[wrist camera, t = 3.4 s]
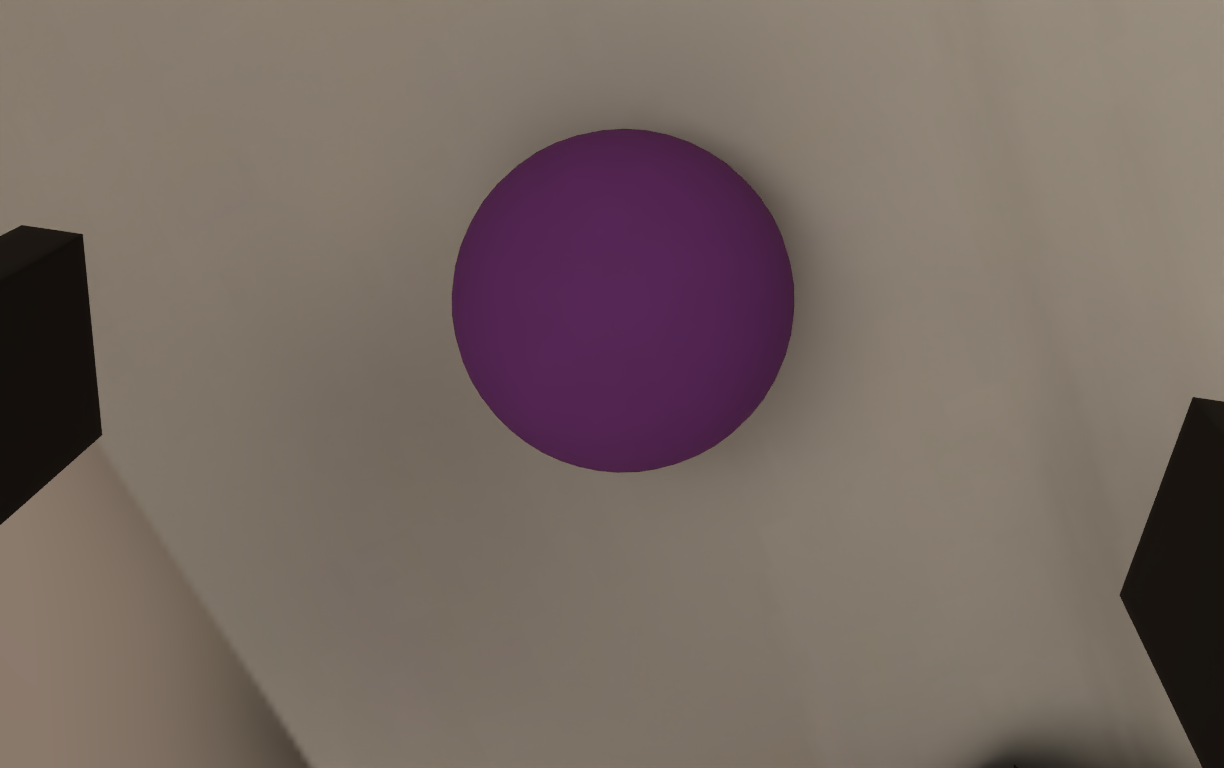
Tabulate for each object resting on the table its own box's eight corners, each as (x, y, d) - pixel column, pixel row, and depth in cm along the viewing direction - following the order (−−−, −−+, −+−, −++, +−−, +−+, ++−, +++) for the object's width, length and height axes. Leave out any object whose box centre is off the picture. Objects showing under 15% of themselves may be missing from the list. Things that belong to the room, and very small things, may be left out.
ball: (482, 362, 20) (406, 508, 16) (501, 77, 18) (418, 154, 14) (761, 402, 20) (765, 564, 16) (815, 119, 18) (835, 212, 13)
